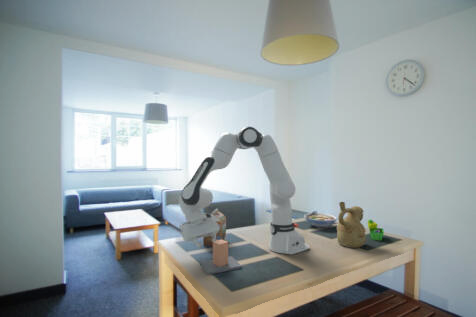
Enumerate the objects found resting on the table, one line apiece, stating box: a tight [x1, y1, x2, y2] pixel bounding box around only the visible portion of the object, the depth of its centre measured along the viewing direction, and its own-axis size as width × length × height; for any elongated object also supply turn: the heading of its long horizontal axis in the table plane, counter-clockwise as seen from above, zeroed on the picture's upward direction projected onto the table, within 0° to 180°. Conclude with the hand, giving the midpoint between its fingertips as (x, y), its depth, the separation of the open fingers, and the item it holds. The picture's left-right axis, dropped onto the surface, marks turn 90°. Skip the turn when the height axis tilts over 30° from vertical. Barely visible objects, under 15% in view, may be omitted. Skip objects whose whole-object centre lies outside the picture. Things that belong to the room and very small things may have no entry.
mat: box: [199, 255, 243, 276], centre depth 114 cm, size 16×12×1 cm
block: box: [212, 239, 229, 267], centre depth 114 cm, size 5×5×10 cm
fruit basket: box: [366, 219, 385, 242], centre depth 154 cm, size 11×9×11 cm
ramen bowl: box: [303, 210, 338, 229], centre depth 180 cm, size 25×23×8 cm
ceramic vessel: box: [336, 201, 367, 249], centre depth 143 cm, size 17×20×25 cm
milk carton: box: [202, 208, 227, 247], centre depth 145 cm, size 11×11×19 cm
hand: (207, 244), depth 120 cm, fingers open, 8 cm apart
